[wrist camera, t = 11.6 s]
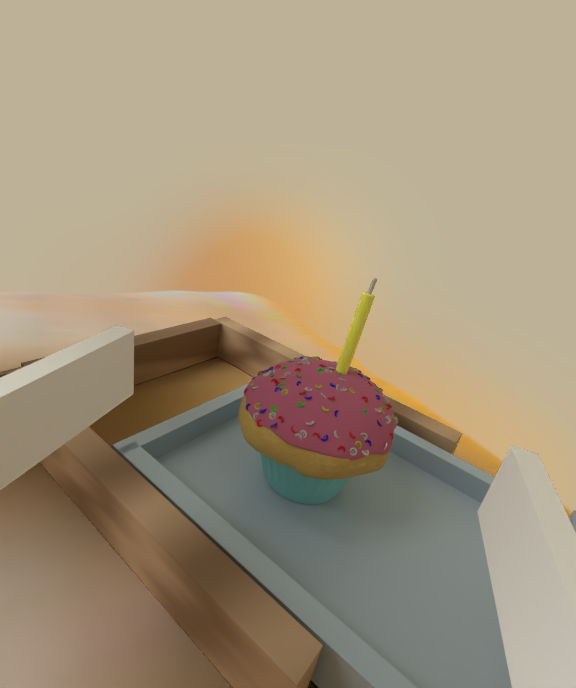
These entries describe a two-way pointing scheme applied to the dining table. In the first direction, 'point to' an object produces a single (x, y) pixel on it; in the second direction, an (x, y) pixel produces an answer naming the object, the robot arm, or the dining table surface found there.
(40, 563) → the dining table surface
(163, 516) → the dock
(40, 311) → the dining table surface
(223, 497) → the tray
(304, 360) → the cupcake
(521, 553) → the robot arm
